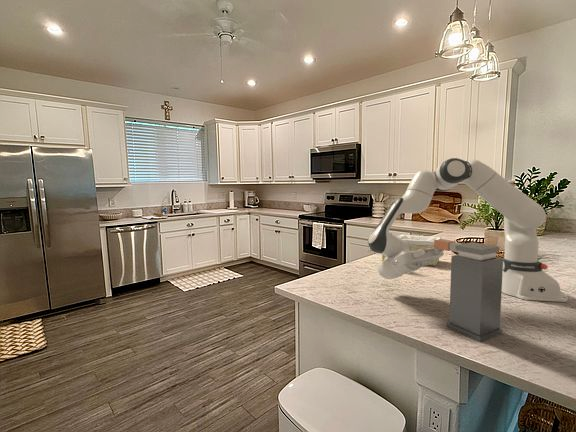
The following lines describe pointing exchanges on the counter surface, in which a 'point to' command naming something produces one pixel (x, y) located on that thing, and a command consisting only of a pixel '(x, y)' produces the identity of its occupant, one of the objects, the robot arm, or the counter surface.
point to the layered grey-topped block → (468, 249)
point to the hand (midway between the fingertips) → (434, 249)
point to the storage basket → (420, 243)
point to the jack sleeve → (476, 297)
